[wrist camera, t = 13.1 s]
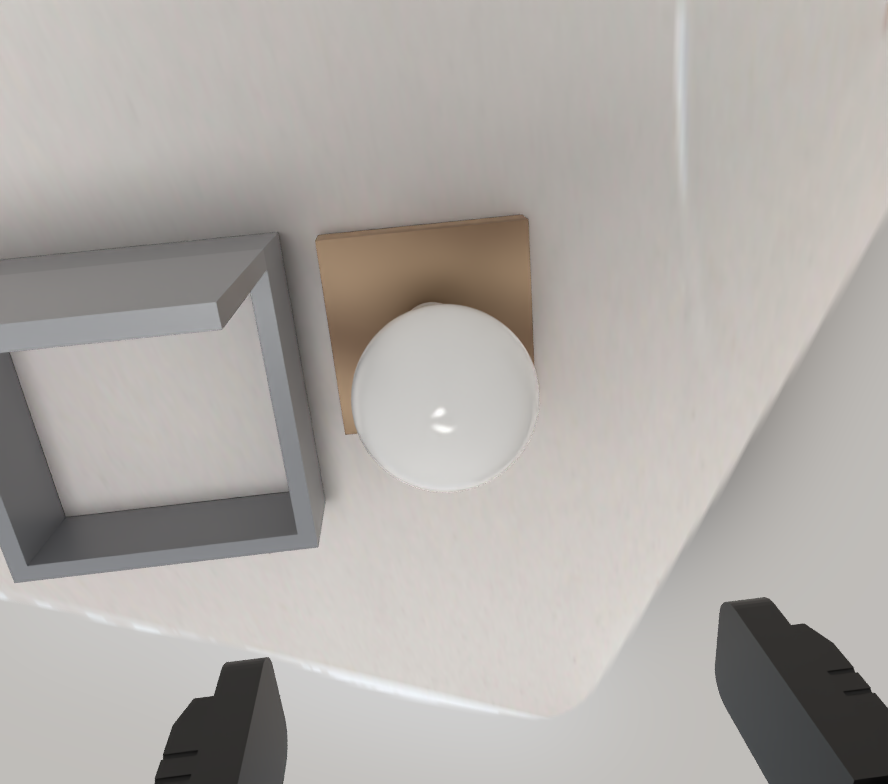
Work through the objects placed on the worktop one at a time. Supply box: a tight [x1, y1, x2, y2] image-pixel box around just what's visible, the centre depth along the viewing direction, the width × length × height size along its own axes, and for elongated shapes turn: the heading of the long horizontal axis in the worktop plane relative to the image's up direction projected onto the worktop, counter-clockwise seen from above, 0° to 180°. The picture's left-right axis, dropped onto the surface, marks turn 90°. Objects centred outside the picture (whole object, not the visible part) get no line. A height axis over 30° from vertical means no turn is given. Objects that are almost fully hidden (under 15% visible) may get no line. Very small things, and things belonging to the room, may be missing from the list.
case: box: [0, 232, 325, 583], centre depth 27 cm, size 14×14×12 cm
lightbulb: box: [351, 302, 540, 493], centre depth 26 cm, size 6×6×11 cm
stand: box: [315, 215, 534, 435], centre depth 32 cm, size 9×9×2 cm
